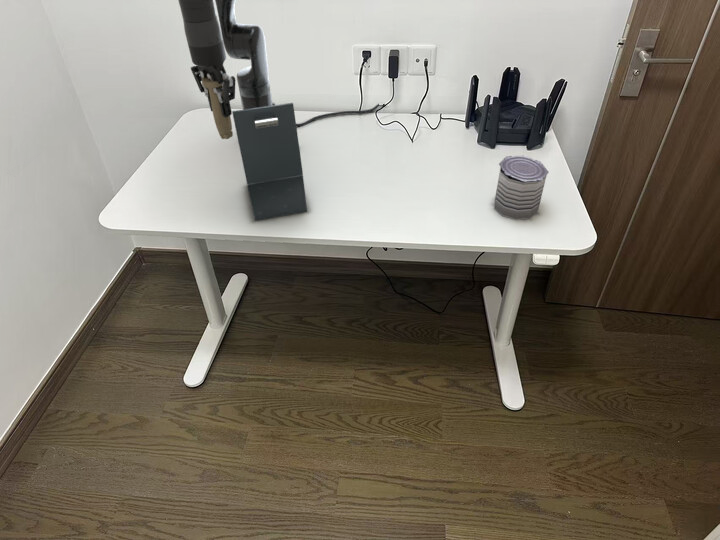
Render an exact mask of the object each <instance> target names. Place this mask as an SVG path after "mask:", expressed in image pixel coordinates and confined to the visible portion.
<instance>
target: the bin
mask: <svg viewBox="0 0 720 540" xmlns="http://www.w3.org/2000/svg"><path fill="white" fill-rule="evenodd" d="M246 186H247V190H248V195H249V200H250V205H251V210H252V214H253V219H254V222H258V221H262V220H263V221H264V220H267V219H274V218H279V217H284V216H289V215H290V216H291V215H295V214H300V213H307V212H308V207H307V206H308V205H307V197H306V190H305V181H304V174H303V175H299V176H293V177H287V178H281V179H275V180H269V181H263V182H257V183H251V184H247V183H246Z"/></svg>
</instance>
